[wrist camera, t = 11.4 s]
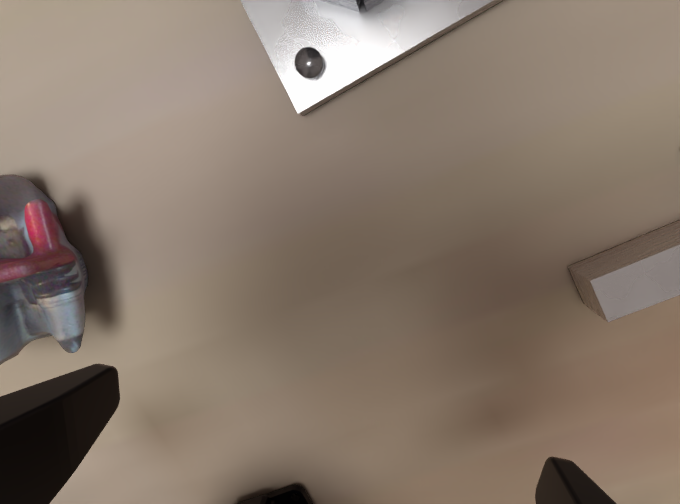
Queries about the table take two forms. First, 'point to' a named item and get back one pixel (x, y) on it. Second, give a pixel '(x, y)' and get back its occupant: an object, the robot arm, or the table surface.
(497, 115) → the table surface
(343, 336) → the table surface
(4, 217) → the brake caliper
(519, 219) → the table surface
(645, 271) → the loose bracket
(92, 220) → the table surface
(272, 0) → the silver bolted socket base
